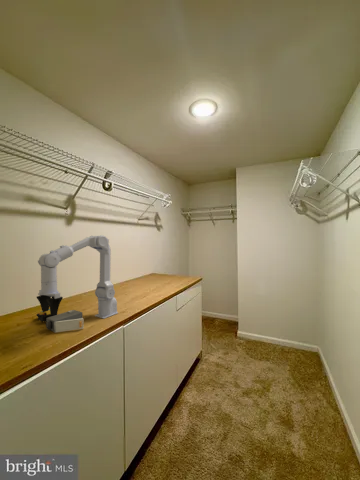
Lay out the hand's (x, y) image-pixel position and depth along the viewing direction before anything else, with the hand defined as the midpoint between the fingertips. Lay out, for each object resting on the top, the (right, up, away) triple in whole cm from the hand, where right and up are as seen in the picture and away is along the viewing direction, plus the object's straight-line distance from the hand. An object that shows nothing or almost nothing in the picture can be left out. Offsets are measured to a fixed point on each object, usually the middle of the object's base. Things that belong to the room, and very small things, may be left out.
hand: (49, 312), depth 86 cm
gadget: (-14, -11, +19) cm, 26 cm away
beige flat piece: (+6, -10, +4) cm, 12 cm away
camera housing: (0, -10, +11) cm, 15 cm away
